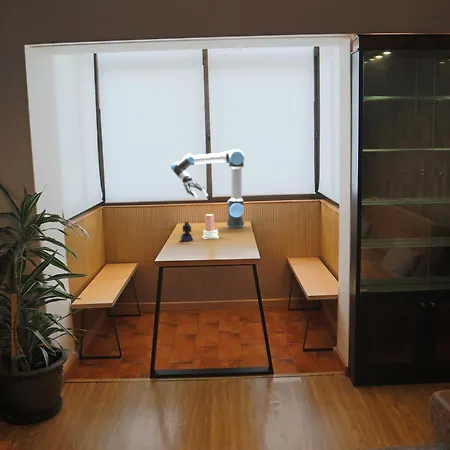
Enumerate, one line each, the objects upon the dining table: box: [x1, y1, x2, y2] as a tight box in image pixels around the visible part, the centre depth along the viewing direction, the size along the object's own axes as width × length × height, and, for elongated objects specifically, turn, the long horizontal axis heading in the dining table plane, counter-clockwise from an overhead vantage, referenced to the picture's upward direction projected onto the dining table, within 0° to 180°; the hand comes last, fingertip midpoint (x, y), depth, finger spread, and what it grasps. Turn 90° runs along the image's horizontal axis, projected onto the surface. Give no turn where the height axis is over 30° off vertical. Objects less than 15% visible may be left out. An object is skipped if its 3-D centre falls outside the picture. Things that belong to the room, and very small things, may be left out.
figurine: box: [177, 221, 194, 243], centre depth 396 cm, size 8×12×15 cm
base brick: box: [202, 229, 219, 239], centre depth 404 cm, size 8×8×5 cm
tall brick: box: [204, 213, 216, 231], centre depth 402 cm, size 5×5×12 cm
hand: (201, 197), depth 420 cm, fingers open, 13 cm apart
